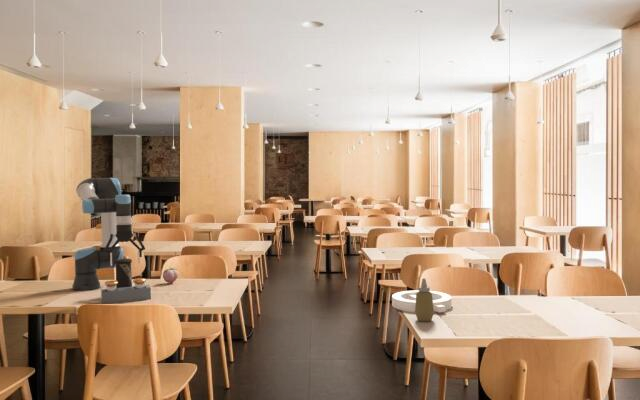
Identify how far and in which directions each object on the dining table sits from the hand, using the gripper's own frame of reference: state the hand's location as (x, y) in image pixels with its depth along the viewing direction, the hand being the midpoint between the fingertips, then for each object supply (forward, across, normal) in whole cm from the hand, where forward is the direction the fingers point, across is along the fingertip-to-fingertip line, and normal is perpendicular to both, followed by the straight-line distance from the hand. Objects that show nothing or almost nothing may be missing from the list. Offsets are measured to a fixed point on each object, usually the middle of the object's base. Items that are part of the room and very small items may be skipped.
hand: (125, 264), depth 283 cm
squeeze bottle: (+20, +114, -106) cm, 157 cm away
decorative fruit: (+19, +28, +36) cm, 49 cm away
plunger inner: (+16, -7, 0) cm, 17 cm away
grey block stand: (+19, 0, 0) cm, 19 cm away
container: (+19, 0, +15) cm, 24 cm away
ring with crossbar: (+20, +128, -82) cm, 154 cm away
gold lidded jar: (+16, +7, 0) cm, 17 cm away
